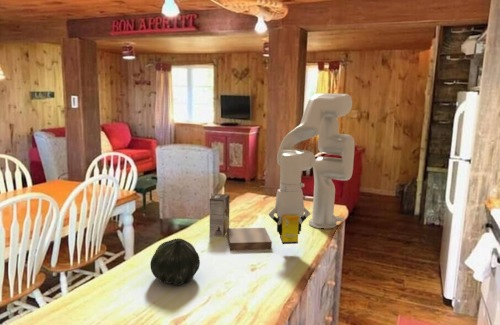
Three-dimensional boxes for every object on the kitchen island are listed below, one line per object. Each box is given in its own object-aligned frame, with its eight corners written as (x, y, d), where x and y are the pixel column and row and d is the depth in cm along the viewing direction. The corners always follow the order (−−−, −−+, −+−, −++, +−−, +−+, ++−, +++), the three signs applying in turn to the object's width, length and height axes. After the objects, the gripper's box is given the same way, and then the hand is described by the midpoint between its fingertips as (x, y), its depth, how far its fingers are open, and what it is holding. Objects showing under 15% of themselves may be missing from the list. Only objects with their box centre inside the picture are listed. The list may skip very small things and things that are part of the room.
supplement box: (279, 238, 149) (280, 210, 147) (295, 237, 149) (295, 210, 147) (282, 244, 143) (282, 215, 141) (298, 243, 143) (299, 215, 141)
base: (264, 234, 166) (264, 227, 165) (271, 249, 150) (271, 241, 150) (227, 235, 164) (227, 228, 163) (230, 250, 148) (230, 242, 148)
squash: (160, 250, 133) (153, 228, 121) (204, 253, 133) (200, 232, 121) (151, 291, 124) (142, 272, 113) (197, 294, 124) (193, 276, 112)
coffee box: (215, 228, 171) (215, 193, 169) (229, 230, 170) (230, 194, 167) (209, 236, 163) (209, 198, 160) (223, 237, 161) (224, 199, 159)
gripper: (310, 183, 147) (308, 228, 150) (265, 184, 144) (264, 230, 148) (316, 188, 139) (314, 236, 143) (268, 190, 137) (267, 238, 141)
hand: (288, 232), depth 145 cm, fingers closed on supplement box, 6 cm apart
